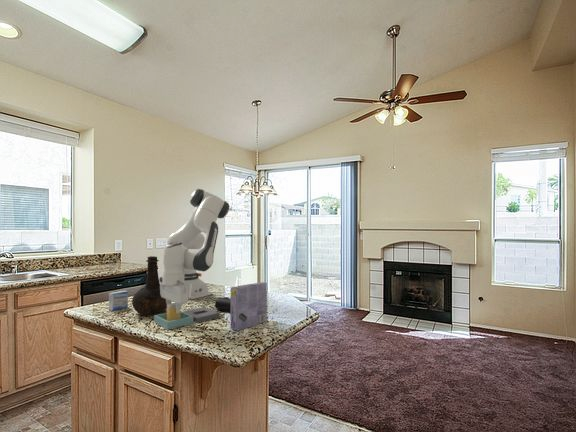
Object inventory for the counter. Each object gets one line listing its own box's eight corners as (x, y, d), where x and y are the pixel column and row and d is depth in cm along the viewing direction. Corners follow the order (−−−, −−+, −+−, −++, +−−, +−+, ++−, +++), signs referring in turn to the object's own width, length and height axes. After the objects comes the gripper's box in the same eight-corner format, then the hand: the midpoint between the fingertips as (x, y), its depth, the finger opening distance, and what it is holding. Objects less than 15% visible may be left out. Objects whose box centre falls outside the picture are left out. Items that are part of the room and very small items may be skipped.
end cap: (214, 312, 157) (214, 298, 157) (223, 308, 163) (223, 295, 163) (231, 314, 152) (231, 300, 152) (239, 311, 159) (239, 297, 159)
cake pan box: (261, 318, 145) (261, 280, 146) (269, 320, 142) (269, 281, 143) (229, 329, 131) (229, 287, 131) (237, 332, 127) (237, 288, 128)
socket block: (204, 312, 156) (204, 307, 156) (219, 318, 146) (219, 312, 146) (181, 317, 148) (181, 311, 148) (196, 323, 138) (196, 318, 138)
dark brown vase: (156, 306, 167) (156, 254, 168) (178, 311, 158) (179, 255, 159) (123, 314, 152) (124, 257, 153) (147, 320, 143) (147, 259, 143)
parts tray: (179, 317, 147) (179, 310, 147) (193, 324, 137) (193, 316, 137) (154, 323, 139) (154, 315, 139) (167, 330, 129) (167, 322, 129)
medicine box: (112, 311, 159) (112, 293, 159) (108, 309, 162) (108, 292, 162) (128, 307, 165) (128, 291, 165) (124, 306, 168) (124, 290, 168)
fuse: (177, 320, 141) (177, 302, 141) (180, 321, 139) (180, 303, 139) (166, 323, 137) (166, 304, 137) (169, 324, 135) (169, 305, 135)
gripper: (192, 281, 133) (191, 314, 133) (170, 275, 148) (170, 305, 147) (177, 283, 129) (177, 317, 129) (157, 277, 143) (157, 307, 143)
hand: (173, 310), depth 138 cm, fingers open, 6 cm apart
